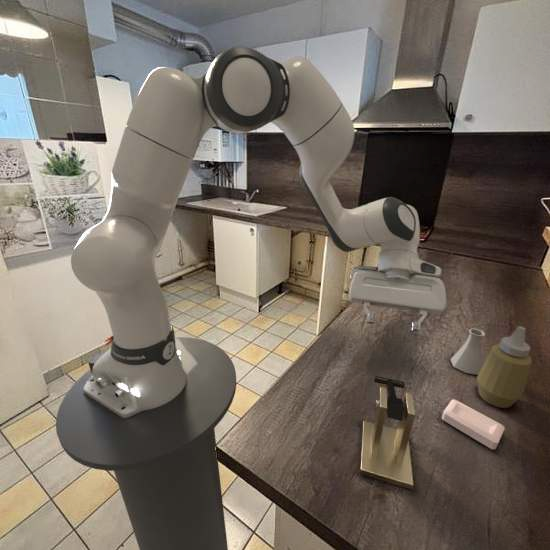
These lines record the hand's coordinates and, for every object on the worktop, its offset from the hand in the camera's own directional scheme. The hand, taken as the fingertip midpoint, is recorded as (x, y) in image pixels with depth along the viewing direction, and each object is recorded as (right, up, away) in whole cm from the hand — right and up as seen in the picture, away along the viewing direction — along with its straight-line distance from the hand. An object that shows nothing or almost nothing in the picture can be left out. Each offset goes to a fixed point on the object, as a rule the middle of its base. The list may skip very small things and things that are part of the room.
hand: (392, 326), depth 63 cm
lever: (-5, -11, -11) cm, 17 cm away
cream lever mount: (-6, -20, -12) cm, 24 cm away
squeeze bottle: (+22, -16, 0) cm, 27 cm away
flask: (+22, -12, +10) cm, 27 cm away
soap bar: (+12, -19, -7) cm, 23 cm away
